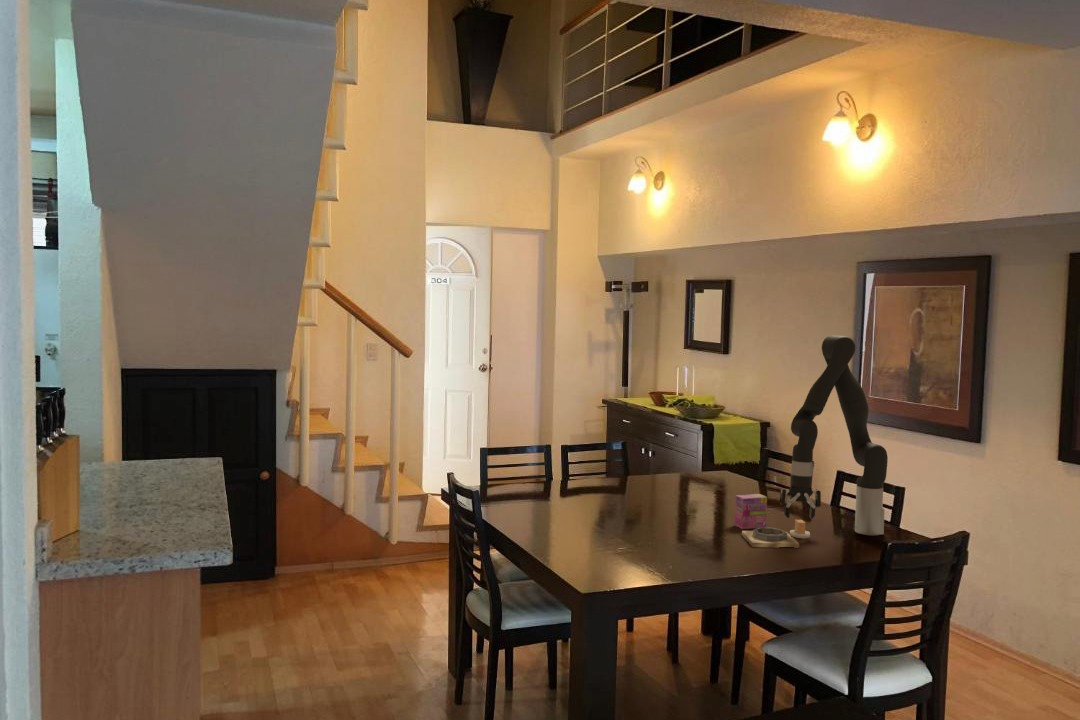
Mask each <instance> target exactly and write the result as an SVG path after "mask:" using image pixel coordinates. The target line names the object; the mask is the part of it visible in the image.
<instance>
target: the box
mask: <svg viewBox="0 0 1080 720" xmlns="http://www.w3.org/2000/svg"><path fill="white" fill-rule="evenodd" d="M734 500H735V508H734V526H735V527H736V528H738V527H739V528H738V529H740V530H747V529H748V530H749V529H756V528H759V527H767V513H768V512H767V507H768V496H766V495H763V494H761V493H754V494H753V493H752V494H738V495H737V494H736V495H735V499H734Z"/></svg>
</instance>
